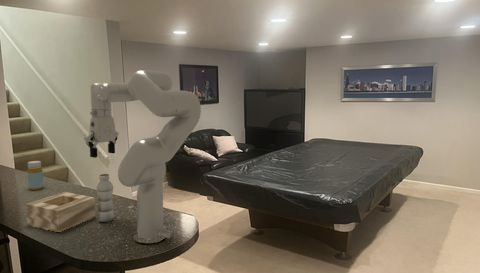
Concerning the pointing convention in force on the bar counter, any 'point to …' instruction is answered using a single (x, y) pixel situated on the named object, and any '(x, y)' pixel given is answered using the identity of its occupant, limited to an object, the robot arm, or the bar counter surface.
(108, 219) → the plastic bottle
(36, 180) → the bottle
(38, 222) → the well block
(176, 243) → the bar counter surface
